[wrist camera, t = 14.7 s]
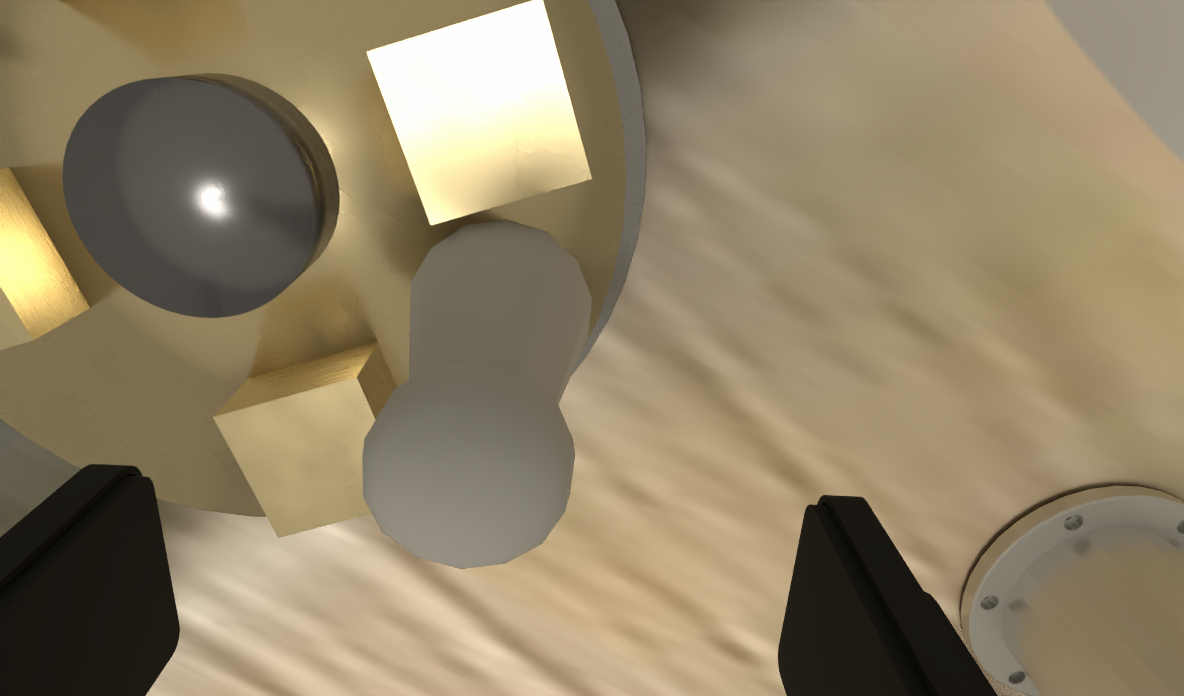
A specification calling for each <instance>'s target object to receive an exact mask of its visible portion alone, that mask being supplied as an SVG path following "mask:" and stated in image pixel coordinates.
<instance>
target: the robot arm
mask: <svg viewBox="0 0 1184 696" xmlns="http://www.w3.org/2000/svg"><path fill="white" fill-rule="evenodd" d="M961 621H962V630H963V633H964V636H965V638H966V641H967V643H968V646H969V648H970V649H971V651H972V652H973V654H974V655H975V657H976V658H977V660H978V661H979V663H980V665H981V666H982V667H983V668H984V669H985V670H986V671H987V672H988V673H989V674H990V675H991V676H992V677H993V678H994V679H995V680H997V681H998V682H1000V683H1001V684H1003V685H1004V686H1006V687H1008V688H1010V689H1013V690H1015V691H1018V692H1021V693H1024V694H1026V695H1031V696H1184V502H1183V501H1182V500H1180V499H1178V498H1176V497H1174V496H1171V495H1169V494H1167V493H1165V492H1163V491H1158V490H1154V489H1149V488H1145V487H1140V486H1109V487H1102V488H1094V489H1088V490H1085V491H1081V492H1078V493H1074V494H1071V495H1067V496H1064V497H1062V498H1060V499H1057V500H1055V501H1053V502H1051V503H1048V504H1046V505H1044V506H1042V507H1039V508H1038V509H1036V510H1035V511H1033V512H1031V513H1030V514H1028V515H1027V516H1025V517H1023V518H1022V519H1020V520H1019V521H1017V522H1016V523H1015V524H1014V525H1012V526H1011V527H1010V528H1009V529H1008V530H1006V531H1005V532H1004V533H1003V534H1002V535H1001V536H999V537H998V538H997V539H996V541H995V542H994V543H993V544H992V545H991V546H990V547H989V549H988V550H987V551H986V552H985V553H984V554H983V555H982V557H981V558H980V560H979V562H978V563H977V565H976V567H975V568H974V570H973V572H972V573H971V575H970V577H969V580H968V583H967V586H966V588H965V591H964V594H963V599H962V607H961ZM179 633H180V627H179V620H178V615H177V609H176V604H175V598H174V593H173V587H172V582H171V576H170V571H169V565H168V560H167V554H166V549H165V543H164V538H163V532H162V527H161V521H160V516H159V510H158V505H157V499H156V494H155V488H154V485H153V482H152V480H151V479H150V478H149V477H147V476H142V473H141V471H140V470H139V469H138V468H137V467H135V466H131V465H108V464H89V465H87V466H86V467H84V468H82V469H81V470H80V471H79V472H78V473H76V474H75V475H74V476H73V477H72V478H70V479H69V480H68V481H67V482H66V483H65V484H63V485H62V486H61V487H60V488H59V489H57V490H56V491H55V492H54V493H53V494H51V495H50V496H49V497H48V498H47V499H46V500H44V501H43V502H42V503H41V504H40V505H38V506H37V507H36V508H35V509H34V510H32V511H31V512H30V513H29V514H28V515H26V516H25V517H24V518H23V519H22V520H21V521H19V522H18V523H17V524H16V525H15V526H13V527H12V528H11V529H10V530H9V531H7V532H6V533H5V534H4V535H3V536H2V537H0V696H145V695H146V694H147V692H148V691H149V689H150V688H151V686H152V685H153V684H154V682H155V681H156V679H157V678H158V676H159V675H160V673H161V672H162V670H163V669H164V667H165V666H166V664H167V663H168V661H169V660H170V658H171V657H172V655H173V653H174V652H175V649H176V647H177V644H178V640H179ZM778 665H779V672H780V676H781V679H782V682H783V685H784V688H785V691H786V695H787V696H997V694H996V693H995V691H994V690H993V688H992V686H991V685H990V683H989V682H988V680H987V679H986V677H985V676H984V674H983V672H982V671H981V669H980V668H979V666H978V665H977V663H976V662H975V660H974V659H973V657H972V655H971V654H970V652H969V651H968V649H967V648H966V646H965V645H964V643H963V642H962V640H961V638H960V637H959V635H958V634H957V632H956V631H955V629H954V628H953V626H952V624H951V623H950V621H949V620H948V618H947V617H946V615H945V614H944V612H943V611H942V609H941V607H940V606H939V604H938V603H937V602H936V600H935V599H934V598H933V597H932V596H931V595H930V594H928V593H926V592H924V591H923V590H922V588H921V586H920V585H919V583H918V582H917V580H916V579H915V577H914V575H913V574H912V572H911V571H910V569H909V568H908V566H907V564H906V563H905V561H904V560H903V558H902V556H901V555H900V553H899V552H898V550H897V549H896V547H895V545H894V544H893V542H892V541H891V539H890V538H889V536H888V534H887V533H886V531H885V530H884V528H883V527H882V525H881V523H880V522H879V520H878V519H877V517H876V515H875V514H874V512H873V511H872V509H871V508H870V506H869V504H868V503H867V501H866V500H865V499H864V498H862V497H853V496H830V495H823V496H822V497H820V499H819V501H818V504H817V505H808V506H807V508H806V510H805V514H804V519H803V524H802V529H801V534H800V539H799V545H798V550H797V555H796V560H795V565H794V570H793V576H792V581H791V586H790V591H789V596H788V602H787V607H786V612H785V617H784V622H783V627H782V633H781V638H780V643H779V649H778Z"/></svg>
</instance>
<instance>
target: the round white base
mask: <svg viewBox="0 0 1184 696" xmlns="http://www.w3.org/2000/svg"><path fill="white" fill-rule="evenodd" d="M588 2H589V4H590V6H591V8H592V10H593V13H594V15H595V17H596V20H597V23H598V26H599V30H600V33H601V36H602V39H603V42H604V45H605V48H606V51H607V55H608V58H609V61H610V64H611V67H612V70H613V74H614V80H615V85H616V90H617V96H618V101H619V106H620V112H621V117H622V122H623V130H624V147H625V164H626V192H625V206H624V220H623V231H622V236H621V241H620V246H619V251H618V255H617V260H616V265H615V270H614V275H613V278H612V281H611V284H610V287H609V290H608V293H607V296H606V298H605V301H604V304H603V307H602V310H601V313H600V316H599V318H598V321H597V323H596V325H595V327H594V329H593V331H592V333H591V335H590V337H589V338H588V340H587V342H586V344H585V346H584V348H583V350H582V352H581V354H580V356H579V358H578V360H577V363H576V365H575V367H574V369H573V372H572V374H573V373H574V371H575V370H576V369H577V368H578V366H579V365H580V364H581V363H582V361H583V360H584V359H585V358H586V356H587V354H588V353H589V351H590V349H591V348H592V346H593V345H594V343H595V341H596V340H597V338H598V336H599V335H600V333H601V331H602V330H603V328H604V327H605V325H606V323H607V322H608V319H609V317H610V315H611V313H612V310H613V308H614V306H615V303H616V301H617V299H618V297H619V294H620V292H621V290H622V287H623V285H624V283H625V280H626V277H627V273H628V270H629V266H630V263H631V260H632V256H633V253H634V249H635V246H636V242H637V239H638V233H639V227H640V220H641V214H642V207H643V200H644V194H645V168H646V135H645V126H644V116H643V107H642V98H641V88H640V84H639V80H638V76H637V71H636V67H635V63H634V59H633V55H632V50H631V46H630V42H629V38H628V34H627V31H626V29H625V26H624V23H623V21H622V18H621V15H620V12H619V10H618V7H617V4H616V2H615V0H588ZM572 374H571V375H572Z"/></svg>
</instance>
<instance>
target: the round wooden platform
mask: <svg viewBox="0 0 1184 696" xmlns="http://www.w3.org/2000/svg"><path fill="white" fill-rule="evenodd" d="M625 192H626V164H625V147H624V130H623V122H622V117H621V112H620V106H619V101H618V96H617V90H616V85H615V80H614V74H613V70H612V67H611V64H610V61H609V58H608V55H607V51H606V48H605V45H604V42H603V39H602V36H601V33H600V30H599V26H598V23H597V20H596V17H595V15H594V13H593V10H592V8H591V6H590V4H589V2H588V0H0V419H1V420H3V421H4V422H6V423H7V424H8V425H10V426H11V427H13V428H14V429H15V430H17V431H18V432H20V433H21V434H22V435H24V436H25V437H27V438H28V439H29V440H31V441H33V442H35V443H36V444H38V445H40V446H42V447H43V448H45V449H47V450H49V451H50V452H52V453H54V454H55V455H57V456H59V457H61V458H62V459H64V460H66V461H68V462H69V463H71V464H73V465H75V466H77V467H79V468H84V467H86V466H87V465H89V464H108V465H131V466H135V467H137V468H138V469H139V470H140V471H141V473H142V476H147V477H149V478H150V479H151V480H152V482H153V485H154V488H155V494H156V498H158V499H160V500H164V501H168V502H173V503H177V504H181V505H185V506H190V507H194V508H198V509H202V510H207V511H214V512H222V513H229V514H237V515H245V516H256V517H267V518H268V520H269V522H270V524H271V525H272V527H273V529H274V531H275V533H276V535H277V536H278V538H280V537H283V536H287V535H291V534H295V533H299V532H302V531H306V530H310V529H314V528H318V527H322V526H325V525H329V524H333V523H337V522H341V521H344V520H348V519H352V518H356V517H360V516H364V515H367V514H371V511H370V509H369V507H368V505H367V503H366V502H365V500H364V498H363V472H362V455H363V447H364V439H365V437H366V435H367V434H368V432H369V430H370V429H371V427H372V425H373V424H374V422H375V420H376V419H377V417H378V415H379V414H380V412H381V410H382V409H383V407H384V405H385V404H386V402H387V400H388V399H389V397H390V396H391V394H392V393H393V391H394V390H395V389H396V388H397V387H399V386H400V385H402V384H404V383H405V382H407V381H408V380H409V344H410V294H411V281H412V279H413V278H414V276H415V274H416V273H417V271H418V269H419V268H420V266H421V264H422V263H423V261H424V259H425V258H426V256H427V254H428V253H429V251H430V249H431V248H432V247H434V246H435V245H437V244H438V243H440V242H441V241H443V240H444V239H445V238H447V237H448V236H450V235H451V234H453V233H454V232H456V231H457V230H459V229H460V228H462V227H463V226H464V225H467V224H472V223H482V222H492V221H502V220H511V221H514V222H517V223H521V224H524V225H527V226H530V227H533V228H537V229H540V230H543V231H546V232H548V233H549V234H550V235H551V236H552V237H553V238H554V239H555V240H556V241H557V242H558V243H559V244H560V245H561V246H562V247H563V248H564V249H565V250H566V251H568V252H569V253H570V254H571V255H572V256H573V257H574V258H575V259H576V260H577V262H578V264H579V266H580V269H581V272H582V274H583V277H584V279H585V282H586V285H587V287H588V290H589V293H590V295H591V298H592V305H591V313H590V321H589V329H588V337H587V340H588V338H589V337H590V335H591V333H592V331H593V329H594V327H595V325H596V323H597V321H598V318H599V316H600V313H601V310H602V307H603V304H604V301H605V298H606V296H607V293H608V290H609V287H610V284H611V281H612V278H613V275H614V270H615V265H616V260H617V255H618V251H619V246H620V241H621V236H622V231H623V220H624V206H625ZM587 340H586V342H587ZM586 342H585V344H586ZM585 344H584V346H585ZM584 346H583V348H584ZM582 350H583V349H582ZM581 352H582V351H581ZM580 354H581V353H580Z"/></svg>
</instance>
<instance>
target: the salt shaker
mask: <svg viewBox="0 0 1184 696" xmlns="http://www.w3.org/2000/svg"><path fill="white" fill-rule="evenodd" d="M591 305H592V298H591V295H590V293H589V290H588V287H587V285H586V282H585V279H584V277H583V274H582V272H581V269H580V266H579V264H578V262H577V260H576V259H575V258H574V257H573V256H572V255H571V254H570V253H569V252H568V251H566V250H565V249H564V248H563V247H562V246H561V245H560V244H559V243H558V242H557V241H556V240H555V239H554V238H553V237H552V236H551V235H550V234H549V233H548V232H546V231H543V230H540V229H537V228H533V227H530V226H527V225H524V224H521V223H517V222H514V221H511V220H502V221H492V222H482V223H472V224H467V225H464V226H463V227H462V228H460V229H459V230H457V231H456V232H454V233H453V234H451V235H450V236H448V237H447V238H445V239H444V240H443V241H441V242H440V243H438V244H437V245H435V246H434V247H432V248H431V249H430V251H429V253H428V254H427V256H426V258H425V259H424V261H423V263H422V264H421V266H420V268H419V269H418V271H417V273H416V274H415V276H414V278H413V279H412V281H411V294H410V344H409V380H408V381H407V382H405V383H404V384H402V385H400V386H399V387H397V388H396V389H395V390H394V391H393V393H392V394H391V396H390V397H389V399H388V400H387V402H386V404H385V405H384V407H383V409H382V410H381V412H380V414H379V415H378V417H377V419H376V420H375V422H374V424H373V425H372V427H371V429H370V430H369V432H368V434H367V435H366V437H365V439H364V447H363V455H362V472H363V498H364V500H365V502H366V503H367V505H368V507H369V509H370V511H371V513H372V514H373V516H374V518H375V520H376V522H377V523H378V525H379V527H380V529H381V531H382V533H384V534H385V535H386V536H388V537H389V538H391V539H392V540H393V541H395V542H396V543H398V544H399V545H401V546H402V547H403V548H405V549H406V550H408V551H409V552H411V553H412V554H413V555H415V556H416V557H418V558H421V559H425V560H428V561H432V562H436V563H440V564H444V565H448V566H451V567H455V568H459V569H466V568H474V567H481V566H489V565H497V564H505V563H507V562H509V561H511V560H513V559H514V558H516V557H518V556H520V555H522V554H524V553H526V552H528V551H529V550H531V549H533V548H535V547H537V546H539V545H541V544H542V543H543V542H544V540H545V539H546V537H547V536H548V535H549V533H550V532H551V530H552V529H553V527H554V526H555V525H556V523H557V522H558V520H559V519H560V518H561V516H562V515H563V513H564V512H565V509H566V506H567V502H568V499H569V495H570V489H571V481H572V474H573V466H574V459H575V451H574V443H573V438H572V436H571V434H570V431H569V429H568V427H567V424H566V422H565V420H564V417H563V415H562V413H561V410H560V408H559V406H558V404H559V402H560V399H561V397H562V395H563V393H564V390H565V388H566V386H567V383H568V381H569V379H570V376H571V374H572V372H573V369H574V367H575V365H576V363H577V360H578V358H579V356H580V353H581V351H582V349H583V346H584V344H585V342H586V340H587V337H588V329H589V321H590V313H591Z"/></svg>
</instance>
